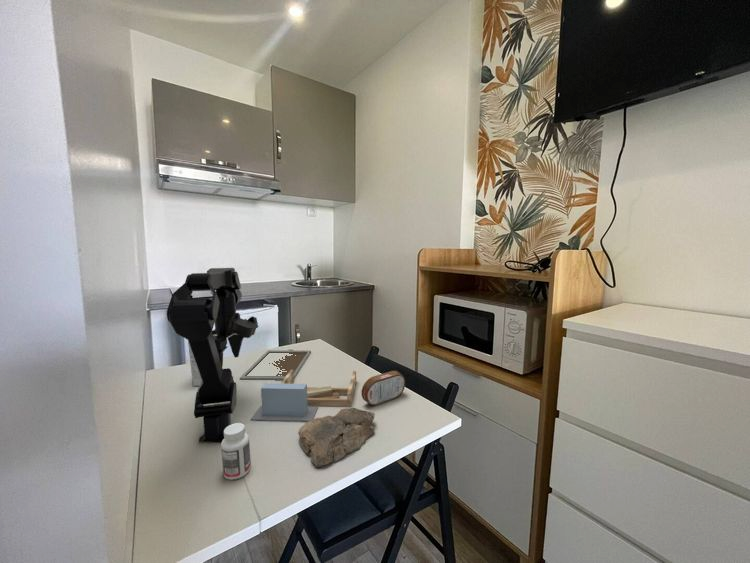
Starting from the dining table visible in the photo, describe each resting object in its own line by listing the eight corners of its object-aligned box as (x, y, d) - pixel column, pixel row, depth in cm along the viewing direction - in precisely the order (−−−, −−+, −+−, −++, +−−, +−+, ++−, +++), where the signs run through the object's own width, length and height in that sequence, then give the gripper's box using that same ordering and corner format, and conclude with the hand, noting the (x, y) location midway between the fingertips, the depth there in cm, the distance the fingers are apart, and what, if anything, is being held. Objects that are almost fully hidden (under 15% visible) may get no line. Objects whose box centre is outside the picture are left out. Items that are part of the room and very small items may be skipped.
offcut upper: (332, 395, 93) (332, 389, 93) (302, 399, 90) (302, 394, 90) (330, 391, 96) (330, 385, 95) (301, 395, 93) (301, 390, 93)
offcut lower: (338, 403, 92) (338, 397, 92) (295, 405, 91) (294, 399, 91) (338, 398, 95) (338, 392, 95) (296, 400, 94) (296, 394, 94)
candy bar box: (210, 372, 113) (206, 330, 111) (223, 372, 113) (220, 330, 111) (191, 386, 102) (187, 340, 100) (205, 387, 102) (202, 340, 99)
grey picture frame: (239, 377, 106) (270, 348, 136) (239, 382, 106) (270, 351, 136) (293, 378, 106) (312, 348, 136) (293, 382, 106) (312, 351, 136)
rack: (350, 406, 89) (350, 393, 88) (274, 405, 90) (273, 392, 89) (356, 381, 105) (356, 370, 104) (291, 380, 106) (290, 369, 105)
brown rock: (358, 412, 87) (291, 437, 75) (359, 396, 86) (291, 419, 74) (389, 438, 76) (317, 473, 64) (390, 420, 75) (317, 452, 63)
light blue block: (304, 416, 83) (303, 389, 82) (262, 415, 84) (260, 388, 83) (307, 410, 86) (306, 383, 85) (266, 409, 87) (265, 383, 86)
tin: (400, 391, 98) (400, 367, 97) (406, 395, 95) (407, 370, 94) (360, 405, 90) (360, 378, 89) (366, 410, 87) (366, 383, 86)
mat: (311, 422, 81) (311, 420, 81) (250, 420, 82) (250, 419, 82) (317, 407, 88) (317, 406, 88) (261, 406, 89) (261, 405, 89)
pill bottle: (242, 458, 68) (239, 417, 67) (256, 468, 65) (253, 426, 63) (218, 473, 64) (214, 430, 62) (231, 485, 60) (228, 440, 59)
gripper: (236, 319, 77) (239, 377, 79) (265, 304, 96) (268, 351, 98) (193, 319, 78) (198, 376, 80) (231, 304, 96) (234, 351, 98)
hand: (228, 363), depth 89 cm, fingers open, 9 cm apart
